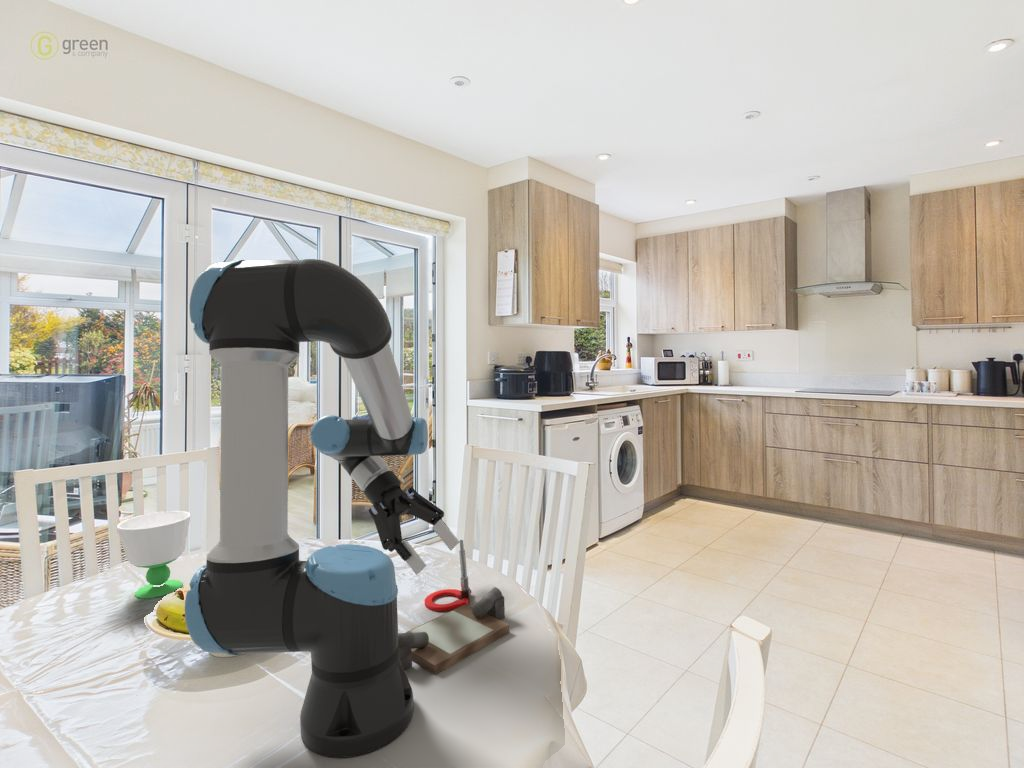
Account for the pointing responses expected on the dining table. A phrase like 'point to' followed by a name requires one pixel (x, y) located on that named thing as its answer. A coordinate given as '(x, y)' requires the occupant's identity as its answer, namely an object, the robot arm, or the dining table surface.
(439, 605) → the tow hook
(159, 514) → the cup
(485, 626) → the shaft stand
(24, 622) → the dining table surface
